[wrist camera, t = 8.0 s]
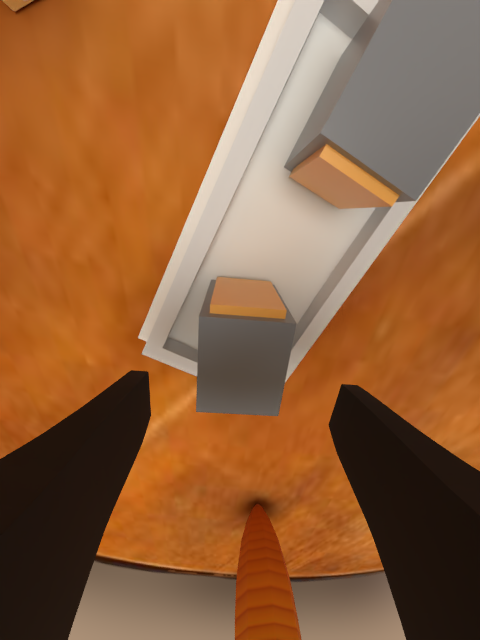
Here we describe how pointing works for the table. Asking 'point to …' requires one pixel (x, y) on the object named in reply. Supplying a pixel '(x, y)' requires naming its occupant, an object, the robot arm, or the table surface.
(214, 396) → the grey block orange top
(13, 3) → the candy box
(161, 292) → the white tray
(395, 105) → the grey toy block
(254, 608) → the carrot
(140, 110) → the table surface
